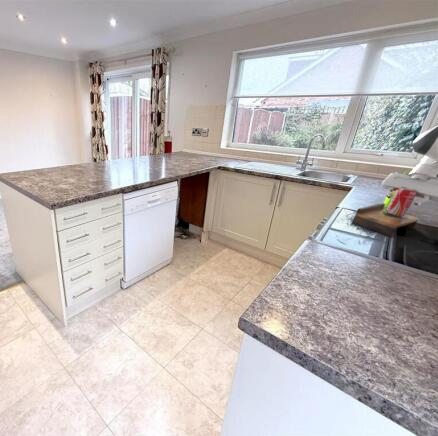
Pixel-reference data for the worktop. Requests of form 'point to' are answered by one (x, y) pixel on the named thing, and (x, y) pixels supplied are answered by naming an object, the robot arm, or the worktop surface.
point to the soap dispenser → (388, 200)
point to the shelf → (382, 220)
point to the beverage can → (401, 201)
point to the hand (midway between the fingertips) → (401, 200)
